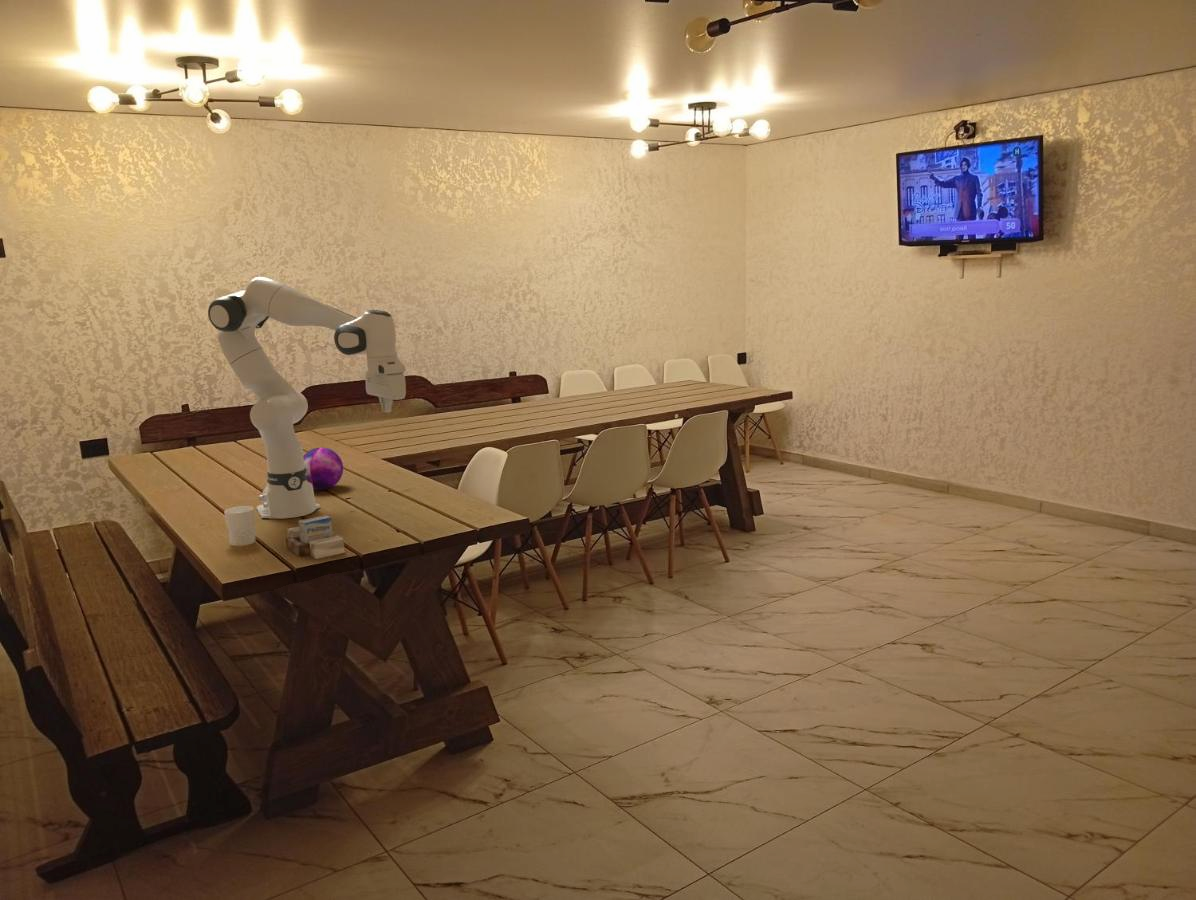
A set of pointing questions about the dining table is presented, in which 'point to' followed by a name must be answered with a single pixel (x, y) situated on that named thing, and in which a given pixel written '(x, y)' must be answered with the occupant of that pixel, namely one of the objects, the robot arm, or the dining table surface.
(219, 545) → the dining table surface
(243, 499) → the dining table surface
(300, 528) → the medicine box
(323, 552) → the wooden tray
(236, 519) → the white cup
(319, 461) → the decorative orb
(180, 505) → the dining table surface
